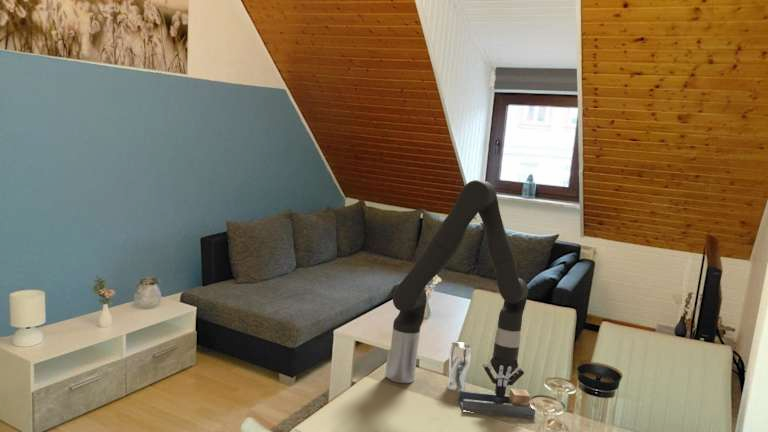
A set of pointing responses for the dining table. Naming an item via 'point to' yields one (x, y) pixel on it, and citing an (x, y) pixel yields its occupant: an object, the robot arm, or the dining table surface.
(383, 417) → the dining table surface
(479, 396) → the chute
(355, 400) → the dining table surface
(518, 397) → the oak block
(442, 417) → the dining table surface
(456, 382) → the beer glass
